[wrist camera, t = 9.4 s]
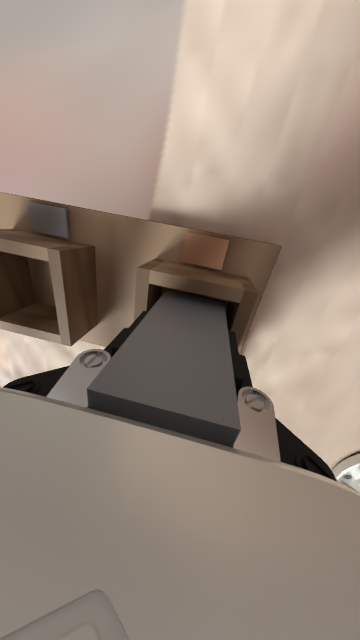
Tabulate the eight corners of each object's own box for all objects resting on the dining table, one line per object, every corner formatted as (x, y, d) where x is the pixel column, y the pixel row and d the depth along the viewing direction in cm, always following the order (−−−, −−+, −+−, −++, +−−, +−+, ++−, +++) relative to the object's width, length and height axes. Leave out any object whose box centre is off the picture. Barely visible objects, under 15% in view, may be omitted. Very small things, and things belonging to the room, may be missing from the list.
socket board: (276, 245, 14) (306, 252, 9) (229, 369, 19) (233, 411, 15) (3, 192, 15) (-84, 177, 11) (32, 321, 21) (-19, 346, 16)
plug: (224, 302, 13) (249, 492, 3) (209, 350, 14) (201, 557, 5) (166, 289, 13) (49, 434, 4) (159, 338, 15) (69, 514, 6)
